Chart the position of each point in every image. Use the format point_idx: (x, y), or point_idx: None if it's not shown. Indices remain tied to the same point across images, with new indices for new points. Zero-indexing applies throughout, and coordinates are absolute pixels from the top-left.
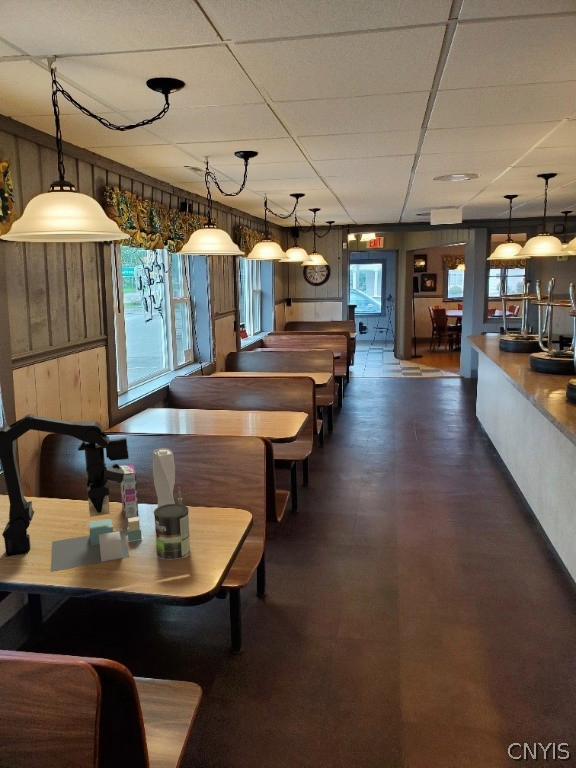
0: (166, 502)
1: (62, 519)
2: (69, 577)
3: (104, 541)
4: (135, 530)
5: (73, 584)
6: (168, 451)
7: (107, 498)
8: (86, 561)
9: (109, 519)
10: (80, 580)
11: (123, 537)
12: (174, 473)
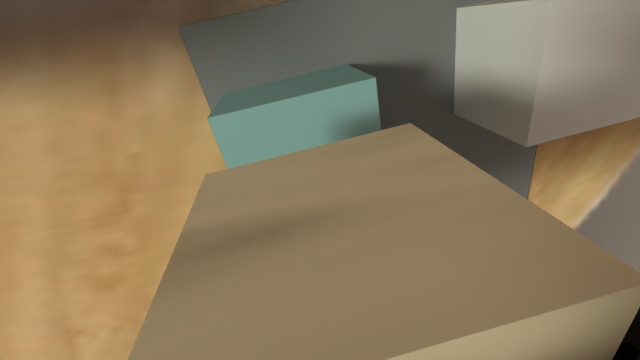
0: None
1: (48, 344)
2: (570, 184)
3: None
4: None
5: (623, 160)
6: None
7: (573, 253)
8: (505, 155)
9: (227, 128)
10: (613, 144)
11: (301, 8)
12: None
